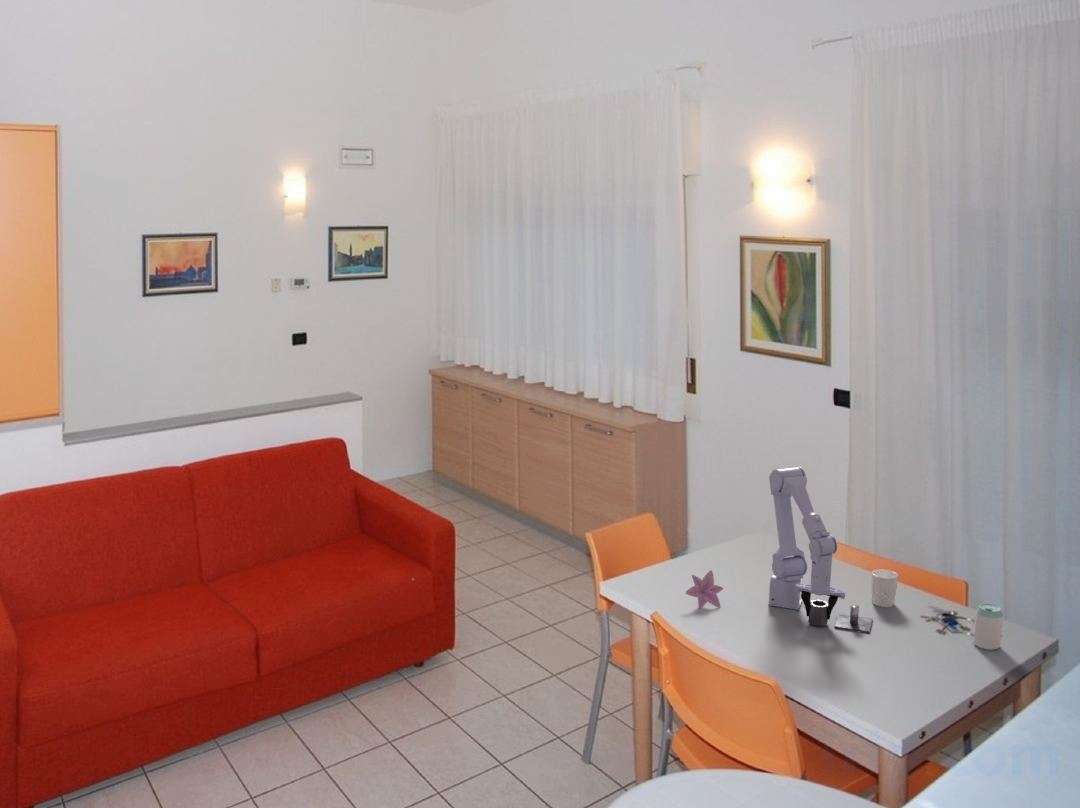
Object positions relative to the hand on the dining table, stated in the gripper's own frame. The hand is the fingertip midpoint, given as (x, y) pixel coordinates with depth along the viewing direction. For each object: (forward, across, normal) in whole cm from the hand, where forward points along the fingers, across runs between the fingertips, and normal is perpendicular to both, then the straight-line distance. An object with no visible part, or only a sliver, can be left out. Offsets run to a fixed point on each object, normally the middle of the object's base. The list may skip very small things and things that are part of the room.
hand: (818, 616), depth 306 cm
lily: (+3, -36, +2) cm, 36 cm away
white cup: (+3, +17, +24) cm, 30 cm away
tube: (+2, 0, 0) cm, 2 cm away
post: (+2, +10, +4) cm, 11 cm away
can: (+2, +47, +3) cm, 47 cm away
